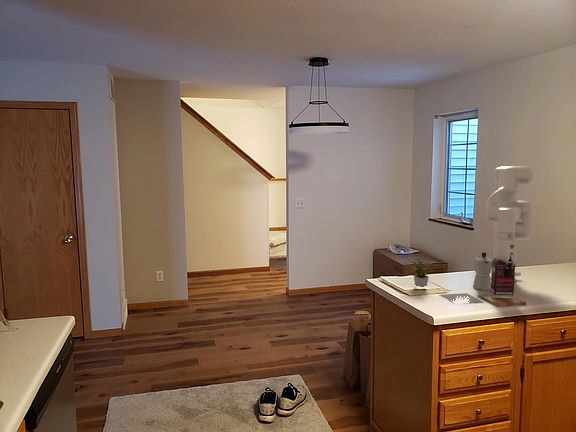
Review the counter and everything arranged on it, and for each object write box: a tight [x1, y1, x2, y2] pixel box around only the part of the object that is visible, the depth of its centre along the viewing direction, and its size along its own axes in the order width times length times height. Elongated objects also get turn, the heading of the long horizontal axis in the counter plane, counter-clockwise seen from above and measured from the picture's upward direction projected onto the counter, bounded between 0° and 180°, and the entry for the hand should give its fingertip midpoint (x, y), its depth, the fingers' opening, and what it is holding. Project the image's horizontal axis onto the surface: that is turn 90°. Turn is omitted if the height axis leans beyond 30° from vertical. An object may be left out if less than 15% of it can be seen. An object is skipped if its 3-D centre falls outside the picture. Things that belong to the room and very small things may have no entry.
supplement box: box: [490, 259, 516, 297], centre depth 195 cm, size 9×5×16 cm, turn 85°
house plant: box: [407, 256, 436, 287], centre depth 215 cm, size 14×14×16 cm
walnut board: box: [477, 293, 527, 308], centre depth 196 cm, size 14×14×1 cm
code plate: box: [440, 292, 485, 304], centre depth 200 cm, size 14×14×1 cm
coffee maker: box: [472, 252, 493, 291], centre depth 216 cm, size 15×9×18 cm, turn 168°
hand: (502, 275), depth 195 cm, fingers closed on supplement box, 5 cm apart
